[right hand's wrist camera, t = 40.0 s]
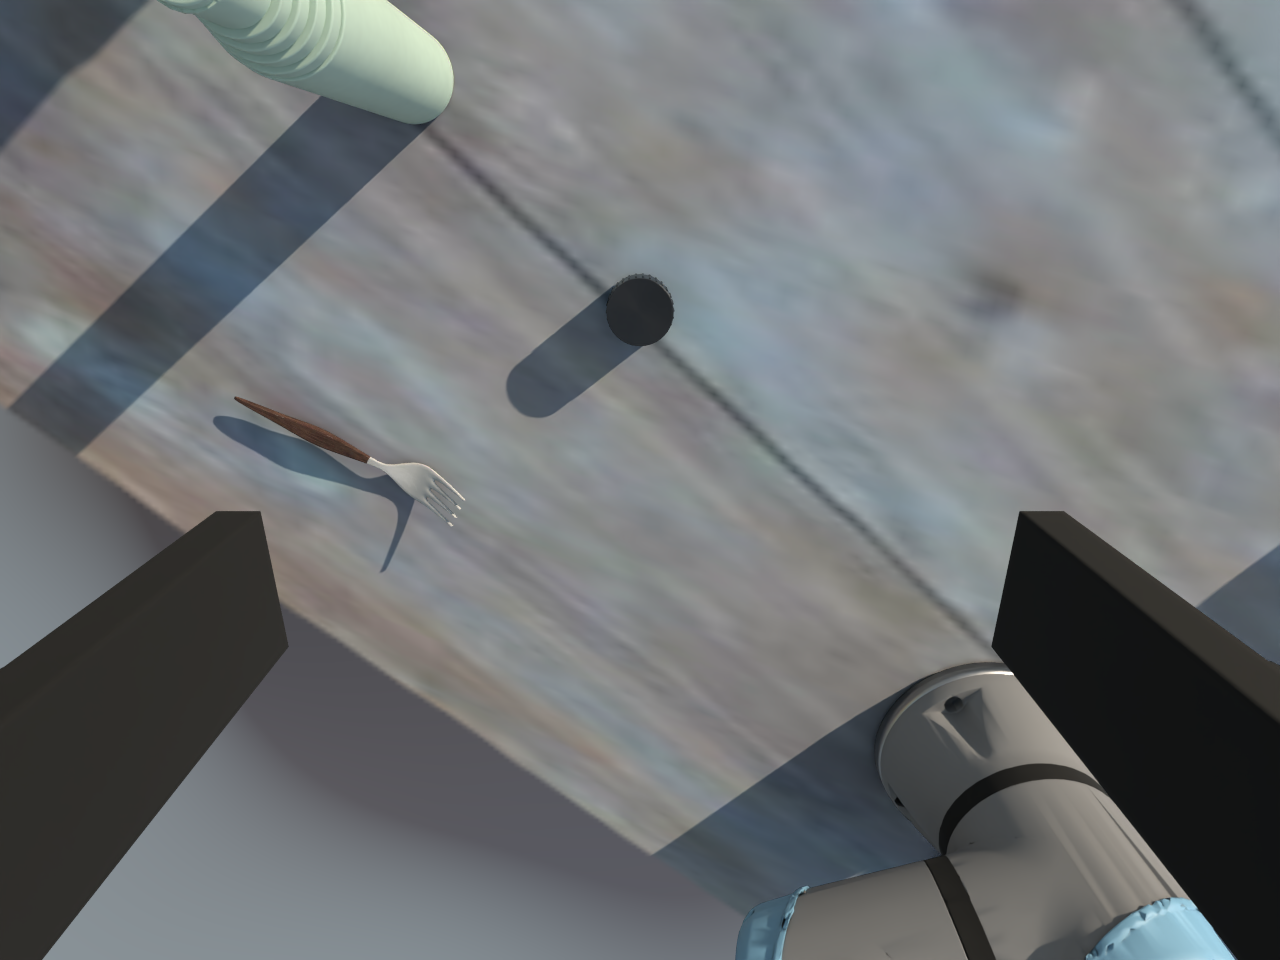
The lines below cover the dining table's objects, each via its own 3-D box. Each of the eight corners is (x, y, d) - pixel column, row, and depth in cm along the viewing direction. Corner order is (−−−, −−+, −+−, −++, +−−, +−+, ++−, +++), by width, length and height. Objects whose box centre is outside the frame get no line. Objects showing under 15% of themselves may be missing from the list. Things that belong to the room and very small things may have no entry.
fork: (244, 377, 46) (228, 385, 45) (472, 486, 49) (466, 497, 47) (232, 412, 47) (216, 421, 45) (457, 517, 50) (450, 529, 48)
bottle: (436, 15, 39) (212, -188, 19) (465, 111, 41) (289, 22, 20) (353, 40, 40) (45, -133, 19) (385, 134, 41) (133, 69, 21)
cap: (596, 319, 45) (593, 326, 43) (627, 260, 44) (626, 264, 42) (652, 351, 46) (653, 359, 44) (684, 293, 45) (687, 298, 42)
